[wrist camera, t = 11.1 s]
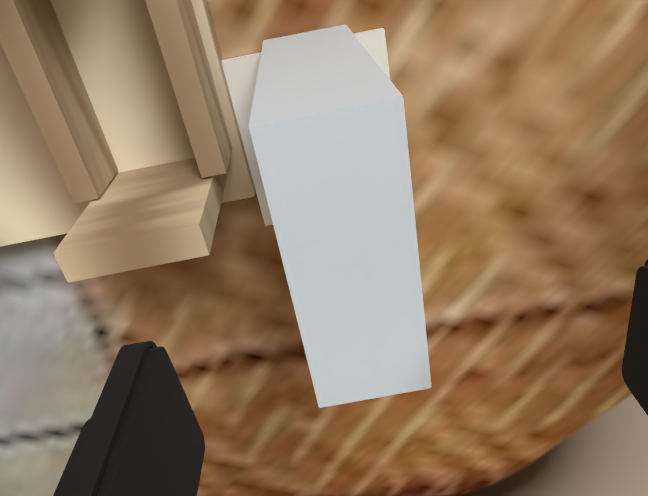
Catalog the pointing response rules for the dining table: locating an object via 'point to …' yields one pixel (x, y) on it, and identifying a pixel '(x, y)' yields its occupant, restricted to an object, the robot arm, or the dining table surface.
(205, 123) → the rack
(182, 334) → the dining table surface
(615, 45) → the dining table surface
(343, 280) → the white rectangular block
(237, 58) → the felt pad
